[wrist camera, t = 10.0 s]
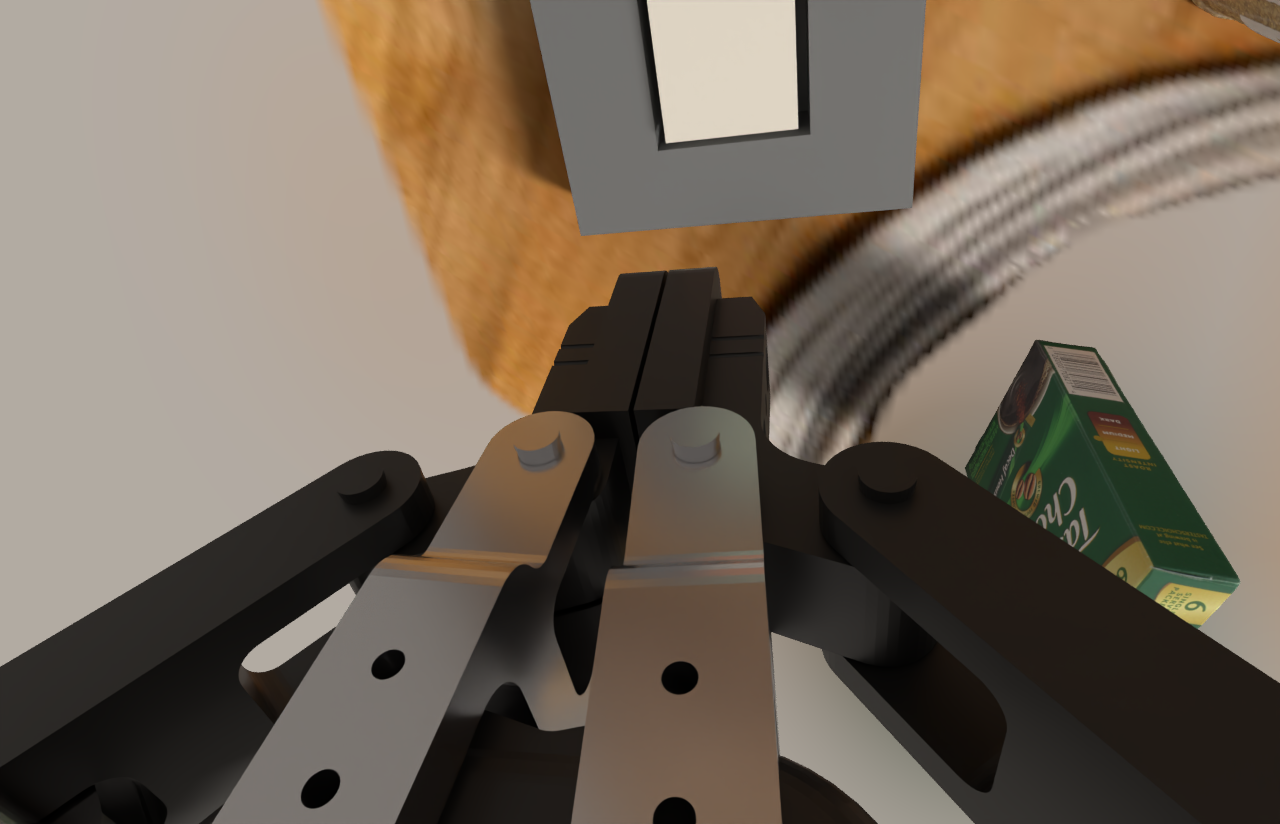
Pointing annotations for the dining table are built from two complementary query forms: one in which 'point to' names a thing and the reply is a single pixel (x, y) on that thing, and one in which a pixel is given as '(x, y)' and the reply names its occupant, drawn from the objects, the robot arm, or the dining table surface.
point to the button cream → (725, 66)
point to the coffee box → (1099, 481)
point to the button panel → (745, 164)
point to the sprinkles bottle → (1248, 14)
